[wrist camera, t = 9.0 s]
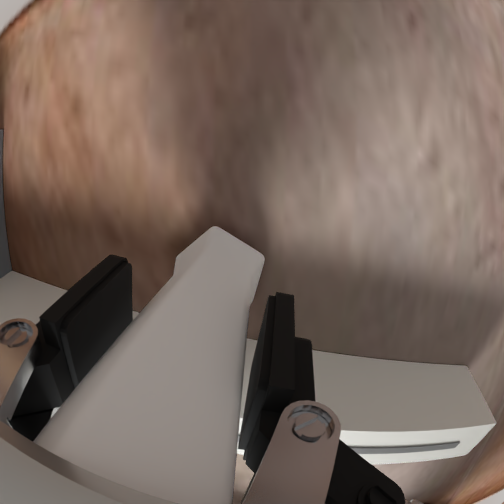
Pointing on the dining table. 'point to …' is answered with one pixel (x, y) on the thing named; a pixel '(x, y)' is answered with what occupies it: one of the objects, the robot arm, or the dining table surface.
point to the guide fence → (335, 385)
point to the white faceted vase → (170, 383)
